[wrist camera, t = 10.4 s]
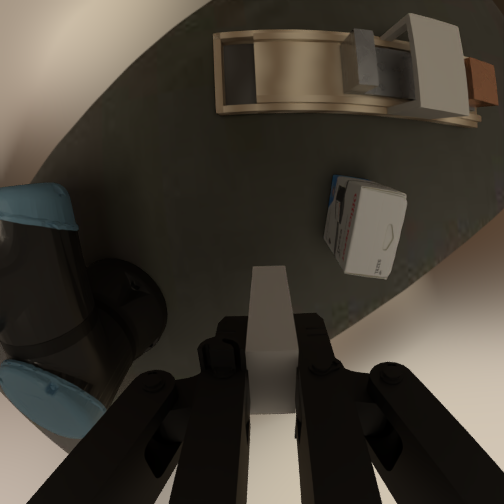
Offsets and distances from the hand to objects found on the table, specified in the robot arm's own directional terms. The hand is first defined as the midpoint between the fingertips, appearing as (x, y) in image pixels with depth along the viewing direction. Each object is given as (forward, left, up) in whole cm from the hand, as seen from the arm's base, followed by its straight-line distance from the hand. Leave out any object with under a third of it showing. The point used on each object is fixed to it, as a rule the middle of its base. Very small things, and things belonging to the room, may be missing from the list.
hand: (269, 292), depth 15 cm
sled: (+18, +16, -21) cm, 32 cm away
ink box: (+10, -1, -25) cm, 27 cm away
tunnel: (+17, +16, -21) cm, 32 cm away
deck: (+12, +16, -24) cm, 31 cm away
